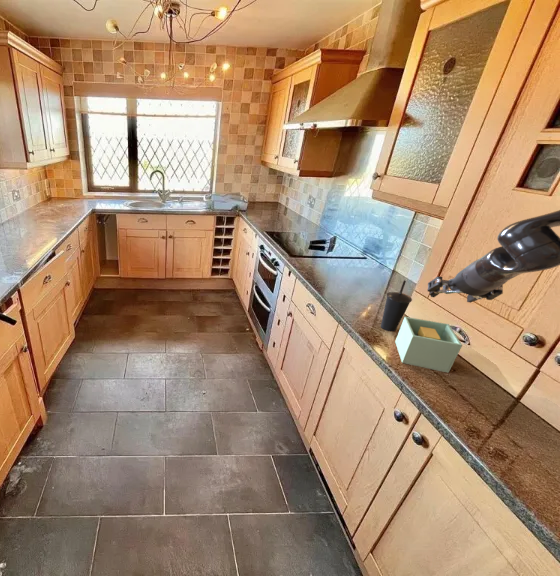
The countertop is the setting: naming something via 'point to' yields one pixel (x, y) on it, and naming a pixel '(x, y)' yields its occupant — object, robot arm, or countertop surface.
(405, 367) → the countertop surface
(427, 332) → the yellow brown striped block
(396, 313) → the drinking cup
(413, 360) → the storage box
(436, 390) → the countertop surface
